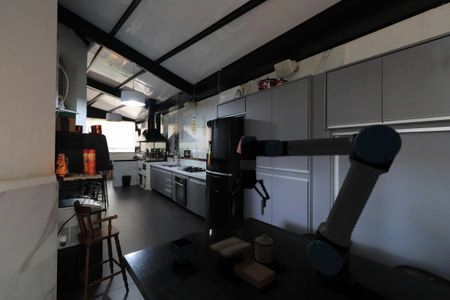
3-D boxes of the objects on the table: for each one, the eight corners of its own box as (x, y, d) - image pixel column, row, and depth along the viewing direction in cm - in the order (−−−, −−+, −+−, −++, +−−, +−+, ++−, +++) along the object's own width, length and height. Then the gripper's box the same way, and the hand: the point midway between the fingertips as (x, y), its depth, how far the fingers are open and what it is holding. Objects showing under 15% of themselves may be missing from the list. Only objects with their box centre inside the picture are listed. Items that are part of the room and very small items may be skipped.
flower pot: (195, 261, 99) (195, 242, 99) (179, 268, 93) (180, 248, 93) (184, 254, 105) (184, 236, 105) (168, 261, 99) (169, 242, 99)
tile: (274, 280, 87) (274, 271, 87) (259, 290, 80) (259, 281, 80) (249, 265, 97) (249, 258, 97) (233, 273, 91) (234, 265, 91)
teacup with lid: (273, 265, 98) (274, 240, 98) (254, 262, 99) (254, 238, 99) (273, 252, 109) (273, 230, 109) (255, 250, 111) (256, 228, 111)
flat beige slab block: (250, 261, 100) (251, 244, 100) (227, 275, 89) (227, 255, 89) (232, 252, 109) (232, 236, 109) (208, 263, 98) (209, 245, 97)
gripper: (272, 168, 103) (272, 212, 103) (221, 168, 102) (221, 211, 102) (276, 169, 95) (276, 216, 95) (221, 169, 95) (221, 216, 95)
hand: (248, 214), depth 99 cm, fingers open, 13 cm apart
